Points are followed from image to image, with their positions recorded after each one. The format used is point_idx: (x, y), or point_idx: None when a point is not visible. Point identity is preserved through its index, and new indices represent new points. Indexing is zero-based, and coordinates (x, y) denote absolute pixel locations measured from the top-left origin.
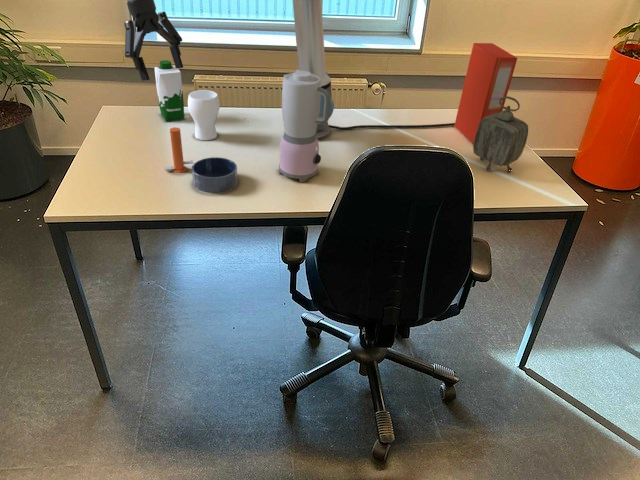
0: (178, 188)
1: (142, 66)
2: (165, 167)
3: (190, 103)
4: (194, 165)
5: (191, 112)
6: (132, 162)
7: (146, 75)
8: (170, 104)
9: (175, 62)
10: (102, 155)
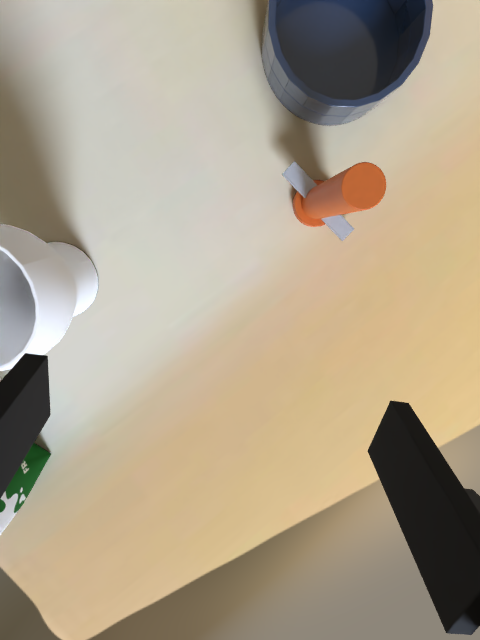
0: (406, 140)
1: (460, 495)
2: (341, 237)
3: (55, 327)
4: (369, 96)
5: (72, 316)
6: (331, 356)
7: (420, 427)
8: None
9: (27, 436)
10: (334, 449)
